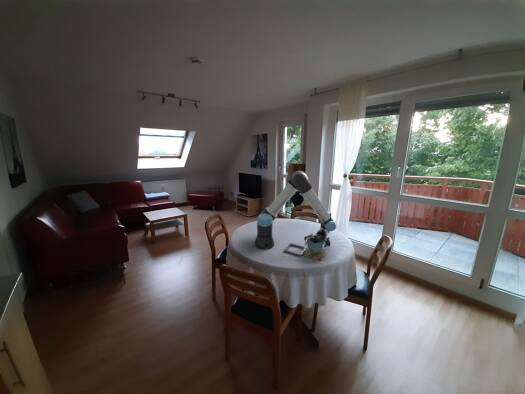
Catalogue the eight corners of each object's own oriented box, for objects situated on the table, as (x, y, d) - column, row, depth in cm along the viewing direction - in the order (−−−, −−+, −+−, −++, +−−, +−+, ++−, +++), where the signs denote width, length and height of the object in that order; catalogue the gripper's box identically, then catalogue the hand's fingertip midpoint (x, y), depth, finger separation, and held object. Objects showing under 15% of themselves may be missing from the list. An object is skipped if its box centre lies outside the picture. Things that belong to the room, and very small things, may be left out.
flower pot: (313, 256, 142) (314, 244, 140) (305, 250, 150) (306, 238, 148) (323, 253, 146) (324, 241, 144) (315, 248, 154) (316, 236, 152)
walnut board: (303, 256, 146) (303, 255, 146) (308, 249, 157) (308, 248, 156) (320, 260, 141) (320, 259, 140) (324, 253, 151) (325, 252, 151)
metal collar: (283, 251, 152) (283, 249, 152) (290, 244, 163) (290, 242, 163) (300, 256, 146) (301, 254, 145) (307, 248, 157) (307, 247, 157)
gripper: (337, 242, 157) (331, 255, 138) (306, 235, 168) (297, 246, 150) (338, 233, 155) (332, 244, 137) (307, 226, 166) (297, 236, 148)
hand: (313, 245), depth 143 cm, fingers closed on flower pot, 11 cm apart
